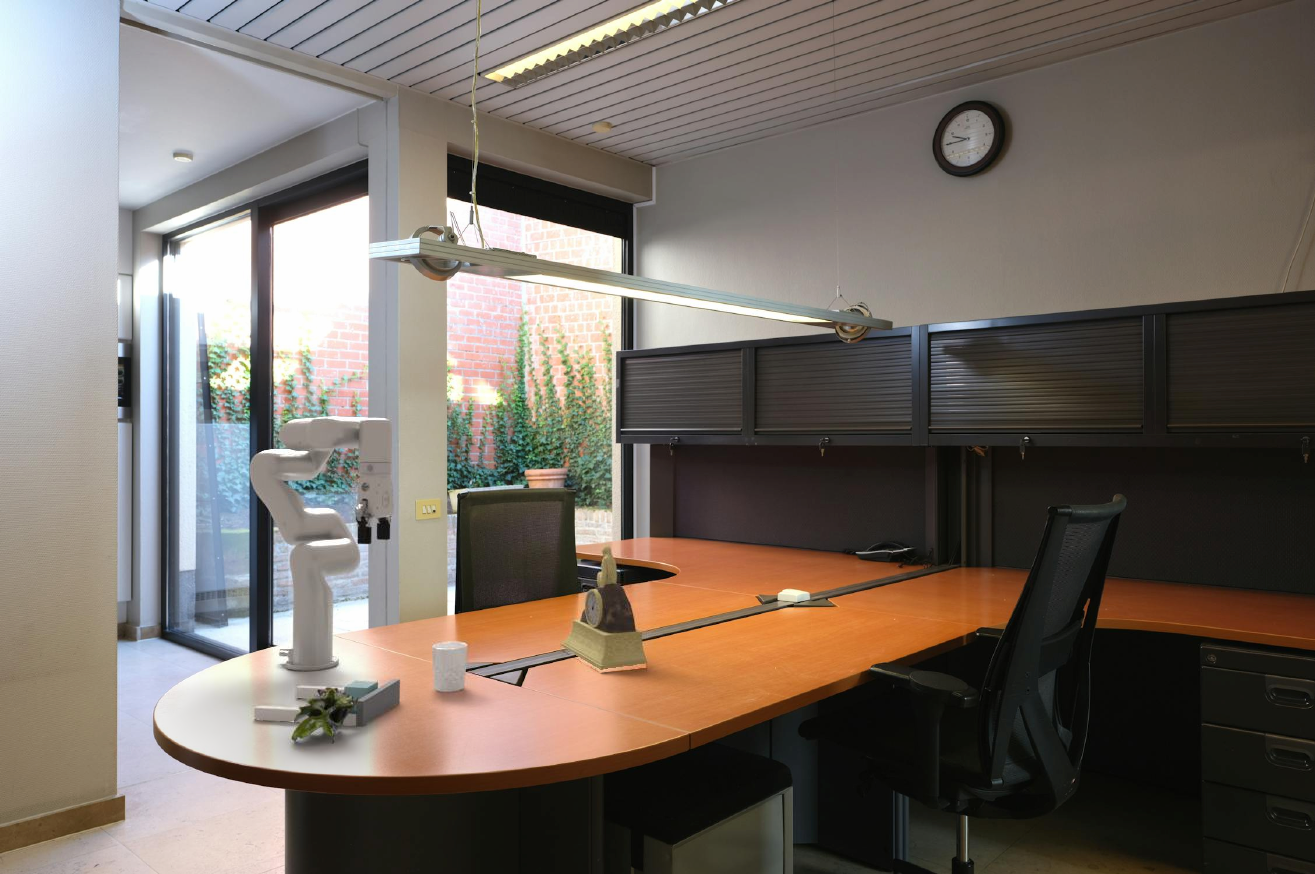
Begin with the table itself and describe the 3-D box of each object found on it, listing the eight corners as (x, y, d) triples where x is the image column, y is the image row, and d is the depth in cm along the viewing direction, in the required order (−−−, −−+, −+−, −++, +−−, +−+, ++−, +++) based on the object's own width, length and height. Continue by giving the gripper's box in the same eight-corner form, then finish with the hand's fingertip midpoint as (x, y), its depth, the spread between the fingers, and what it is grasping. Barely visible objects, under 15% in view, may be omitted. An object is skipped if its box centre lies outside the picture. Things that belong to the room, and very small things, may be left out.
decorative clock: (560, 650, 245) (561, 542, 245) (603, 646, 250) (604, 540, 251) (600, 674, 220) (601, 553, 220) (646, 668, 225) (648, 551, 226)
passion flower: (326, 759, 173) (359, 702, 179) (343, 765, 165) (377, 704, 170) (275, 734, 169) (310, 676, 174) (290, 738, 160) (326, 677, 166)
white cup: (432, 694, 200) (433, 650, 200) (431, 685, 207) (431, 642, 208) (467, 691, 202) (468, 648, 202) (465, 682, 210) (466, 640, 210)
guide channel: (254, 720, 180) (254, 695, 180) (299, 696, 197) (300, 674, 197) (363, 726, 176) (363, 701, 177) (399, 702, 193) (399, 679, 193)
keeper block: (343, 715, 184) (344, 686, 184) (355, 708, 188) (355, 680, 189) (366, 717, 183) (366, 688, 183) (377, 710, 188) (377, 681, 188)
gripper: (373, 471, 201) (372, 546, 201) (405, 469, 218) (404, 538, 218) (342, 470, 202) (341, 545, 202) (376, 468, 219) (375, 537, 219)
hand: (374, 541), depth 210 cm, fingers open, 9 cm apart
